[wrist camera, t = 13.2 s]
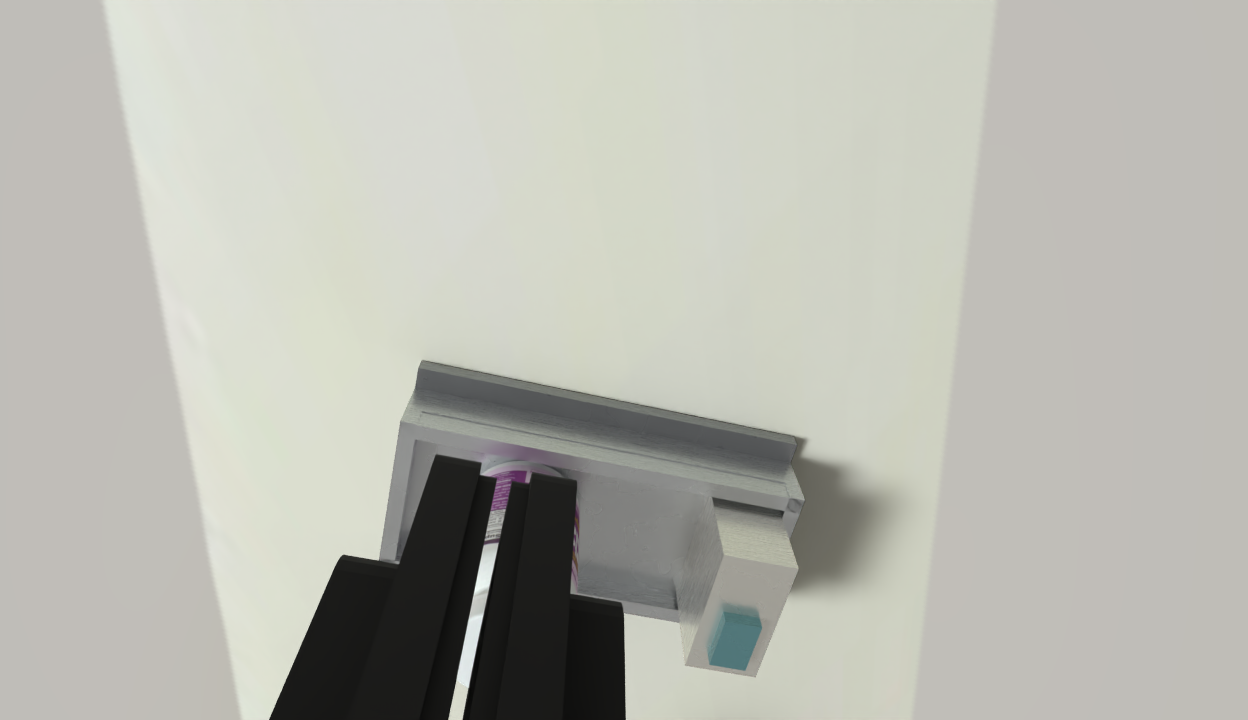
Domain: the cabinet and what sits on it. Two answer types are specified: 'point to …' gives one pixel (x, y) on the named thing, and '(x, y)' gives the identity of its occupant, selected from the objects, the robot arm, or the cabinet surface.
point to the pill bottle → (504, 476)
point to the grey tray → (629, 500)
